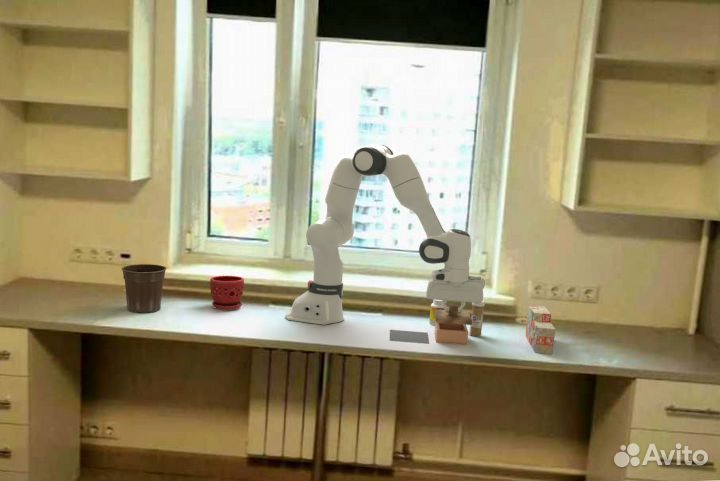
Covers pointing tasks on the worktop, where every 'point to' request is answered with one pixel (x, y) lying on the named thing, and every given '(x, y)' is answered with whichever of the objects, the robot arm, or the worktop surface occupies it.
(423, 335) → the mat
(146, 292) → the plant pot
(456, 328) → the orange open box
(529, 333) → the red and white cartons
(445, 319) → the lid
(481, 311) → the sprinkles bottle
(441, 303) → the supplement bottle
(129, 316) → the worktop surface
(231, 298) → the plant pot
